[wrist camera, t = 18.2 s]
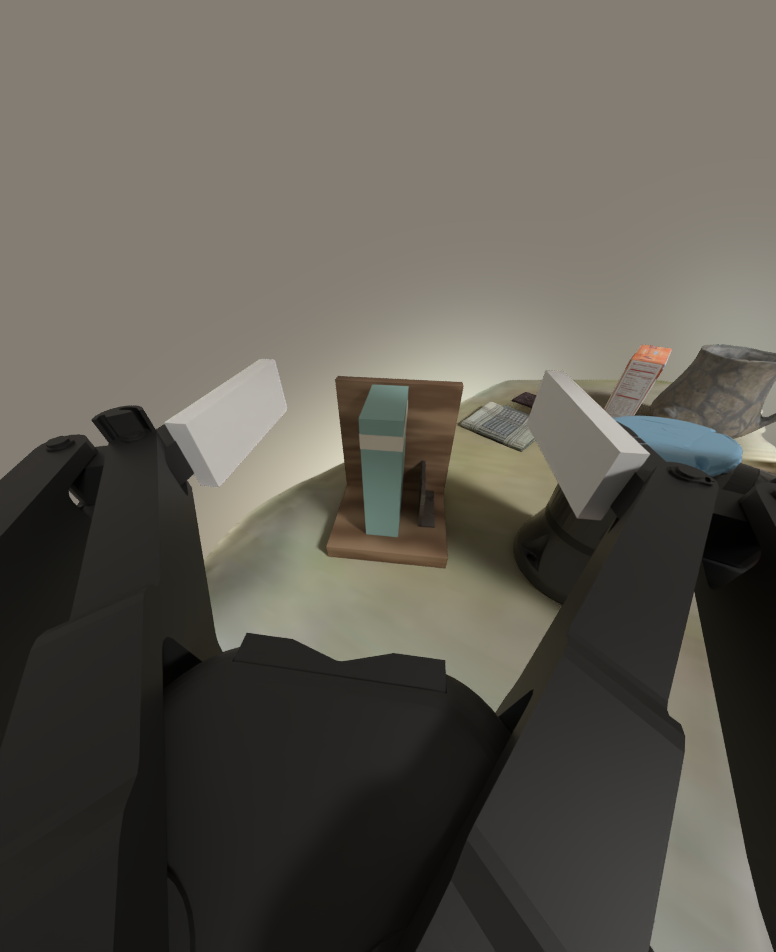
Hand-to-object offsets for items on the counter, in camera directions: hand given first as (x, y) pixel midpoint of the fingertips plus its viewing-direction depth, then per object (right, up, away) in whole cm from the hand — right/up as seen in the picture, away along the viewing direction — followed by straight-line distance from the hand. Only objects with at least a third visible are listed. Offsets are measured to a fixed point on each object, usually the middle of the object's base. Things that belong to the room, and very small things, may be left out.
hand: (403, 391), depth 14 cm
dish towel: (+31, +9, +62) cm, 70 cm away
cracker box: (+54, +5, +57) cm, 79 cm away
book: (-1, -10, +33) cm, 34 cm away
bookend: (+6, -10, +34) cm, 36 cm away
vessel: (+79, +8, +60) cm, 100 cm away
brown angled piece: (0, -12, +35) cm, 37 cm away
